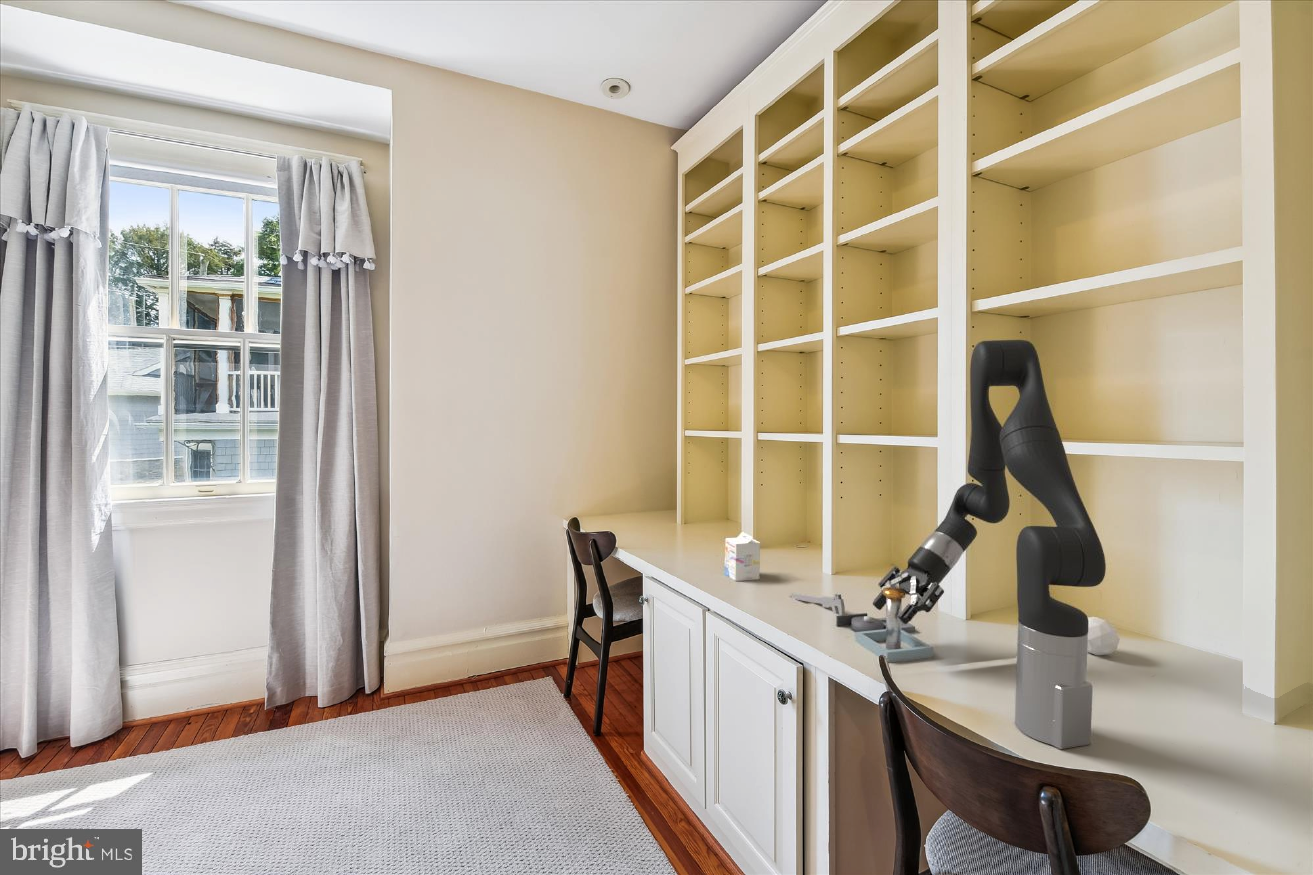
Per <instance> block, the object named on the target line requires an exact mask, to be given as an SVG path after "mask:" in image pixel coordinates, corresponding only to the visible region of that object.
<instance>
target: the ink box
mask: <svg viewBox="0 0 1313 875" xmlns="http://www.w3.org/2000/svg"><path fill="white" fill-rule="evenodd" d="M724 544H725V547H724V575H725V576H727V577H729V578H730V579H731V580H733V581H735V582H741V581H743V582H744V581H755V580H760V566H761V565H760V562H761V560H760V558H761V542H760V541H758V540H756V539H754V538H753V536H751V535H750V534H747V533H746V532H743V531H742V532H741V533H740V534H739V535H738V536H737V537H726V538H725V543H724Z"/></svg>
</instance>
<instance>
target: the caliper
mask: <svg viewBox="0 0 1313 875" xmlns="http://www.w3.org/2000/svg"><path fill="white" fill-rule="evenodd" d="M833 595H834V597H833V596H826V595H825V596H816V595H810V594H809V595H808V594H803V593H797V592H795V593H794V592H792V593H791V594H789V595H788V597H790V598H792V599H793V598H794V600H796V599H797V601H803V602H809V603H810V602H811V603H815V604H821V605H822V608H827V609H828V608H831V610H832V613H834V614H835V615H837V614H838V616H839V615H846V614H845V611H846V609H845V603H844V599H843V598H842V594H841V593H840V594H838V593H834V594H833Z"/></svg>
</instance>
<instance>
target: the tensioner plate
mask: <svg viewBox="0 0 1313 875" xmlns="http://www.w3.org/2000/svg"><path fill="white" fill-rule="evenodd" d="M835 623H836V624H835V625H836V627H845V628H847V629H848V630H850V631H853V633H855V632H863V631H873V630H883V629H886V617H877V618H875V617H871V616H868V613H867V612H861V613H853V614H851V613H850V614H845V615H839V614H838V615H836V622H835ZM901 630H903V631H905V632H907V633H908V634H910V635H919V634H920V633H919V632H918V631H916V626H915V625H913V624H912V623H909V622H908V623H907V624H904V623H902V622H901Z"/></svg>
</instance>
